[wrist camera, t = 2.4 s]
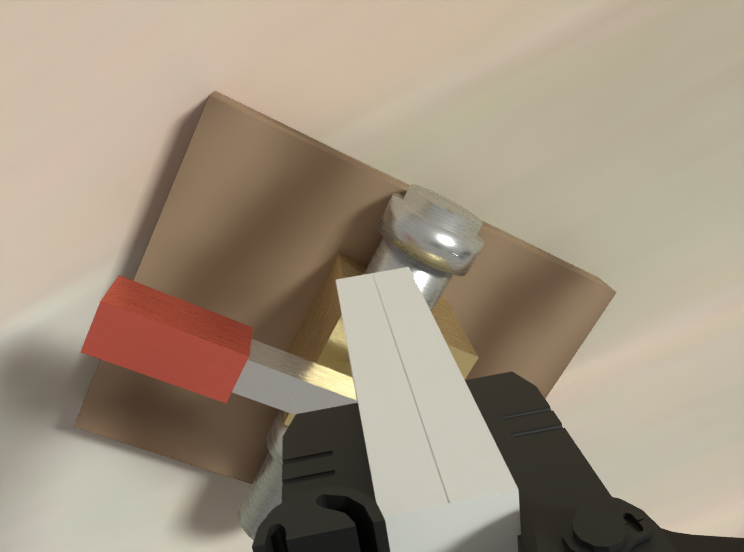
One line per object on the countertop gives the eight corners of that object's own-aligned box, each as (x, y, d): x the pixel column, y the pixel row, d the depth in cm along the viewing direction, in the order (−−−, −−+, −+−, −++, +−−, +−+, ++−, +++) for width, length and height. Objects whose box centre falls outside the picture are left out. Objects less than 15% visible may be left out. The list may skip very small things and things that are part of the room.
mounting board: (599, 278, 34) (616, 292, 32) (439, 521, 39) (446, 546, 37) (215, 90, 28) (209, 95, 26) (85, 404, 33) (73, 426, 32)
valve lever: (427, 388, 25) (439, 420, 23) (397, 438, 26) (406, 473, 24) (121, 267, 22) (104, 292, 20) (97, 329, 22) (77, 359, 20)
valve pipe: (488, 217, 30) (542, 270, 24) (321, 507, 36) (327, 617, 29) (380, 164, 29) (405, 205, 22) (221, 475, 34) (203, 584, 28)
